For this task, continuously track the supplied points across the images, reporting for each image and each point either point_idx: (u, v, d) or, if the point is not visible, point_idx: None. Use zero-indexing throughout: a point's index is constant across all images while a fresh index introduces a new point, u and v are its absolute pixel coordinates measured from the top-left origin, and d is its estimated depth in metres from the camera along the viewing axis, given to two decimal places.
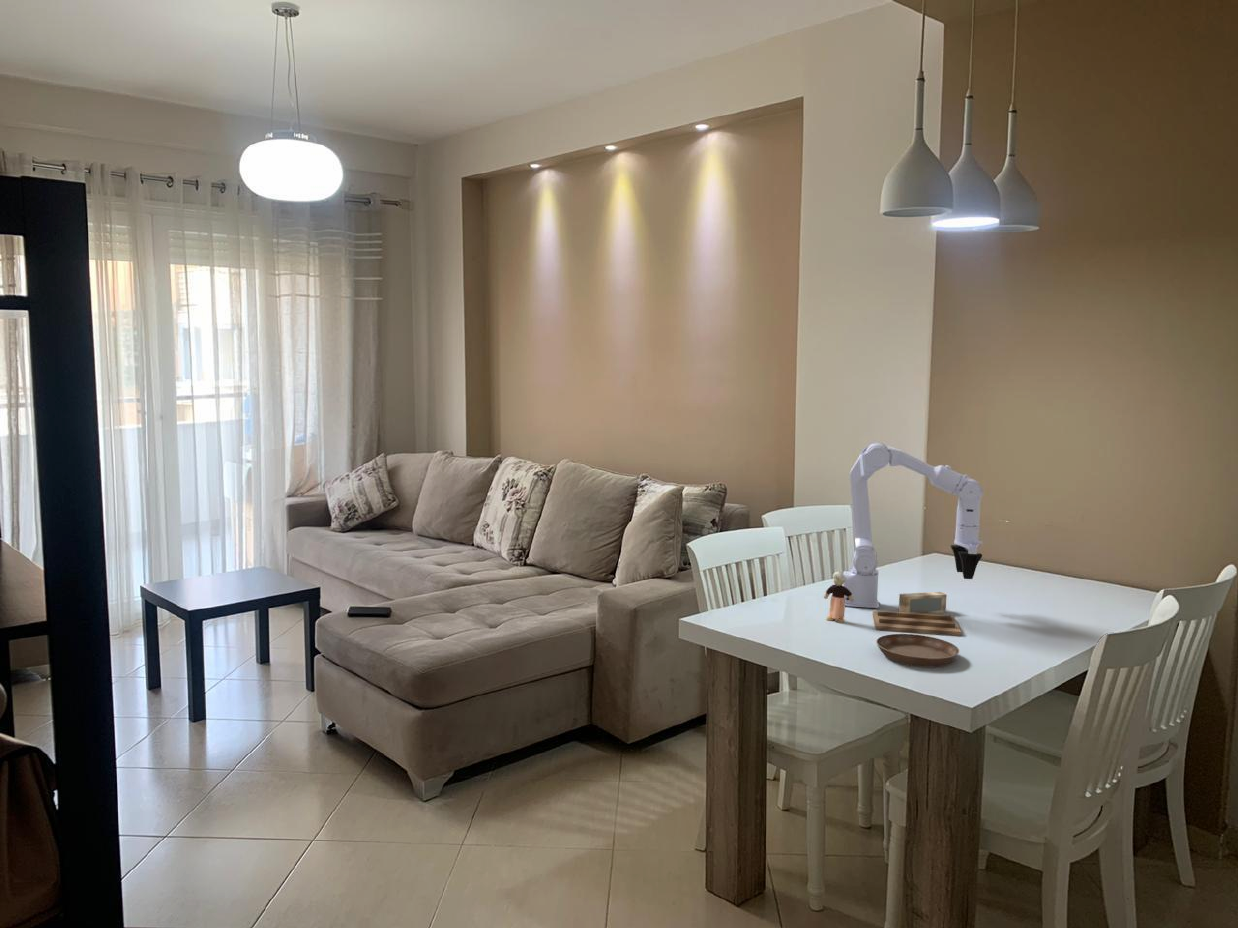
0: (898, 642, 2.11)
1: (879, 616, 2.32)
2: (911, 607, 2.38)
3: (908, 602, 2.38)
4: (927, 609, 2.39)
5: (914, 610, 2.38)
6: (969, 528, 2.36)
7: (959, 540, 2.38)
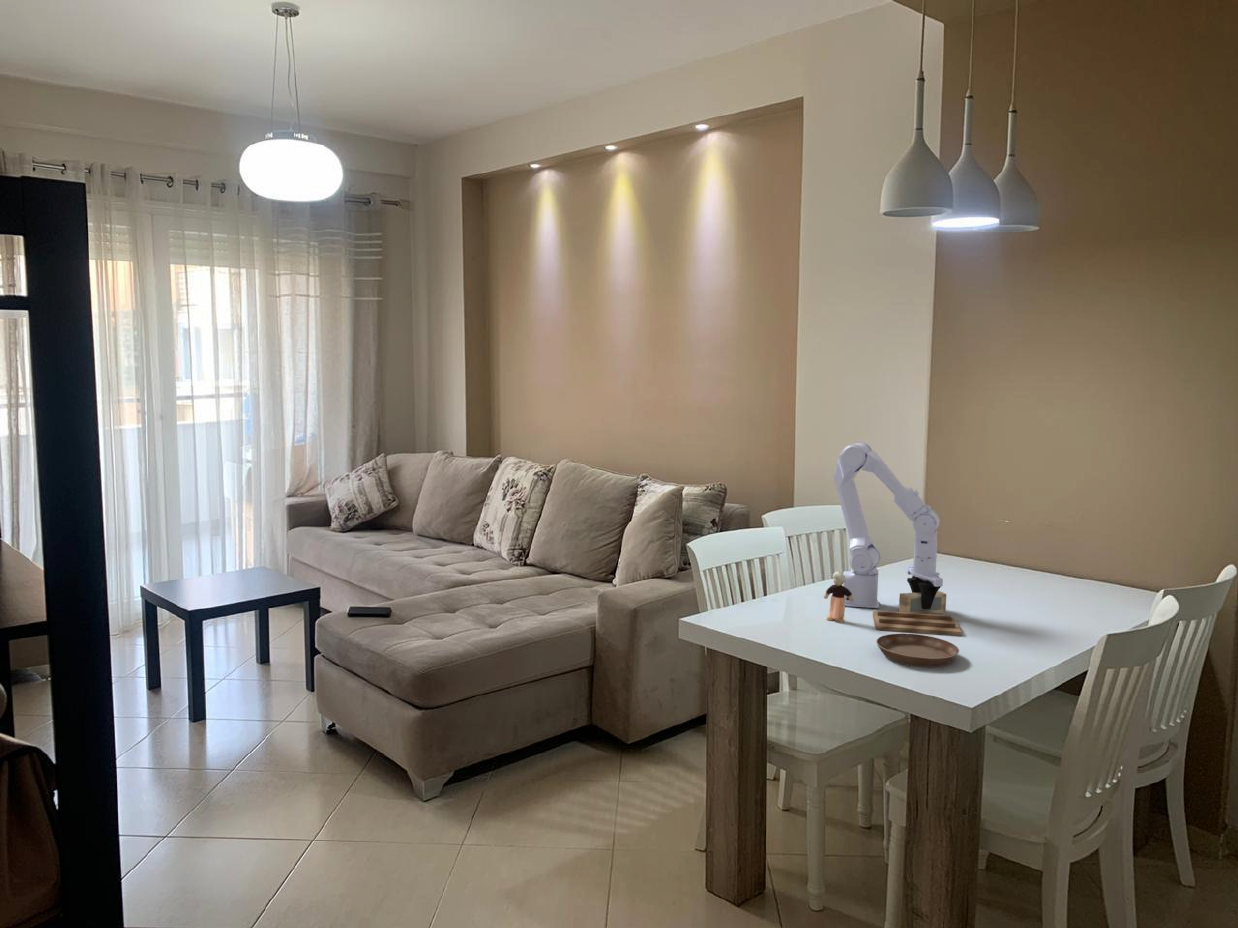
0: (899, 642, 2.11)
1: (879, 616, 2.32)
2: (911, 606, 2.38)
3: (908, 601, 2.38)
4: None
5: (915, 610, 2.38)
6: (930, 560, 2.36)
7: (920, 572, 2.37)
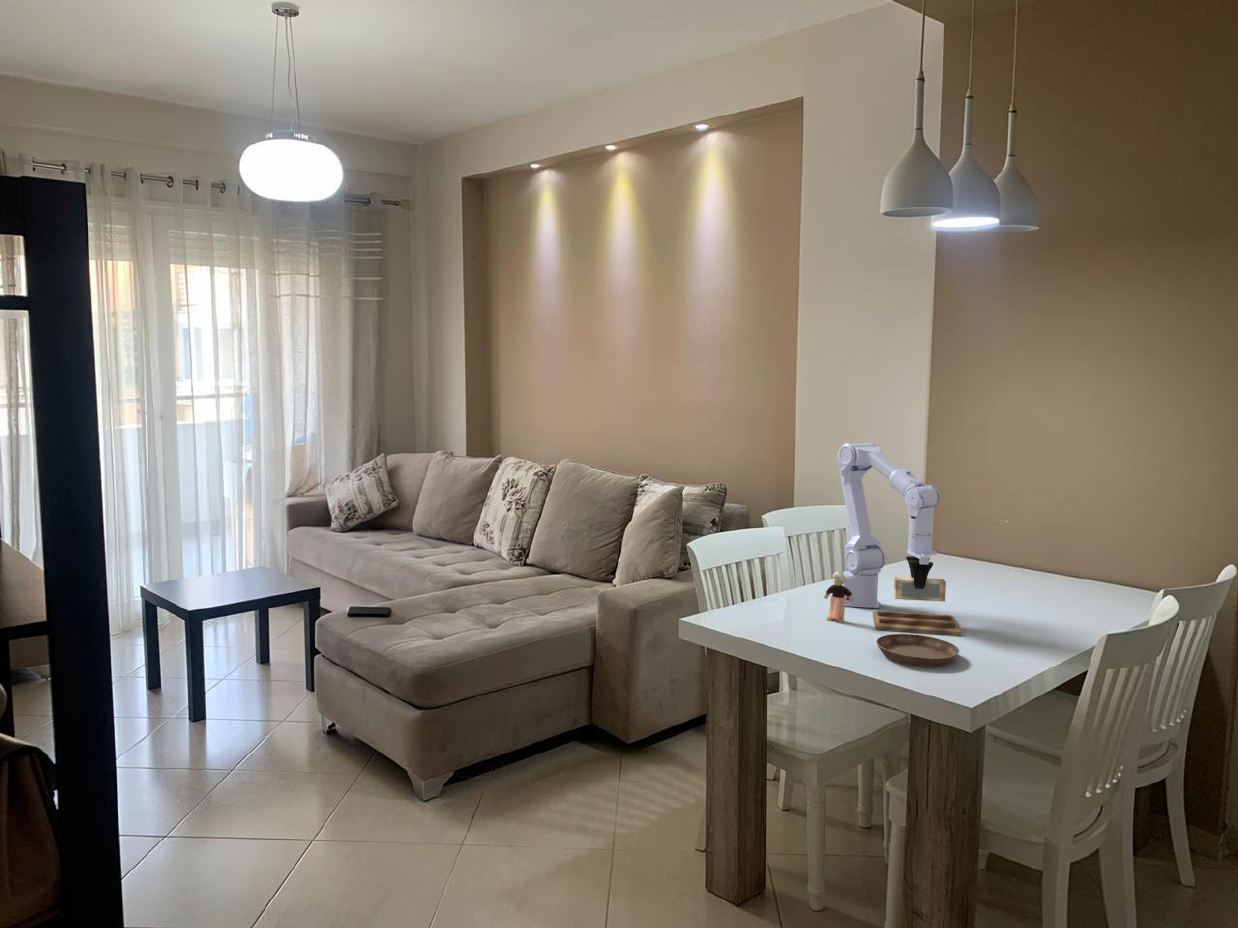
0: (899, 642, 2.11)
1: (879, 616, 2.32)
2: (903, 591, 2.29)
3: (899, 585, 2.29)
4: (922, 595, 2.28)
5: (907, 595, 2.28)
6: (921, 537, 2.25)
7: (911, 550, 2.27)
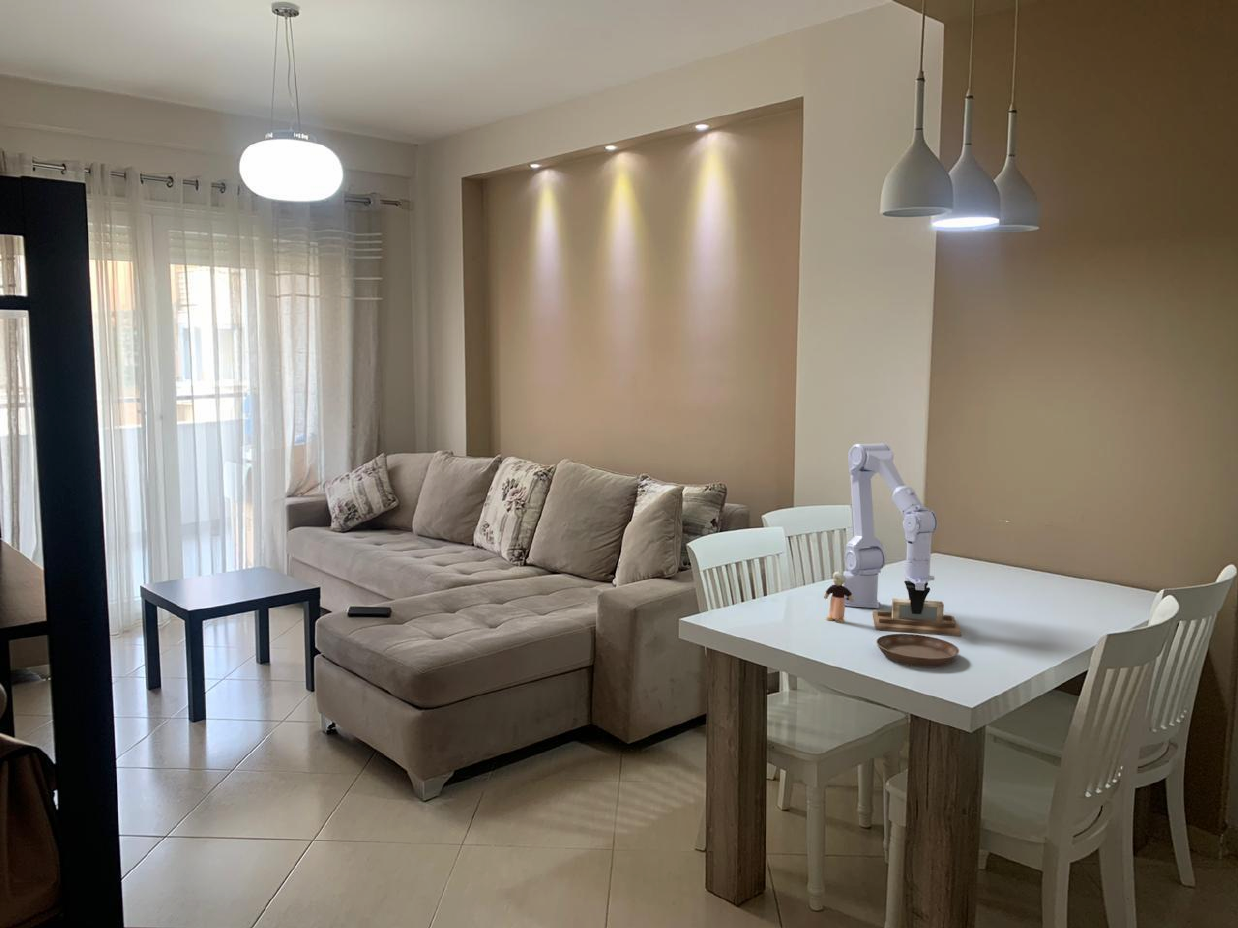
0: (899, 642, 2.11)
1: (879, 616, 2.32)
2: (900, 613, 2.28)
3: (897, 607, 2.28)
4: (919, 617, 2.27)
5: (904, 617, 2.28)
6: (918, 562, 2.24)
7: (908, 575, 2.26)
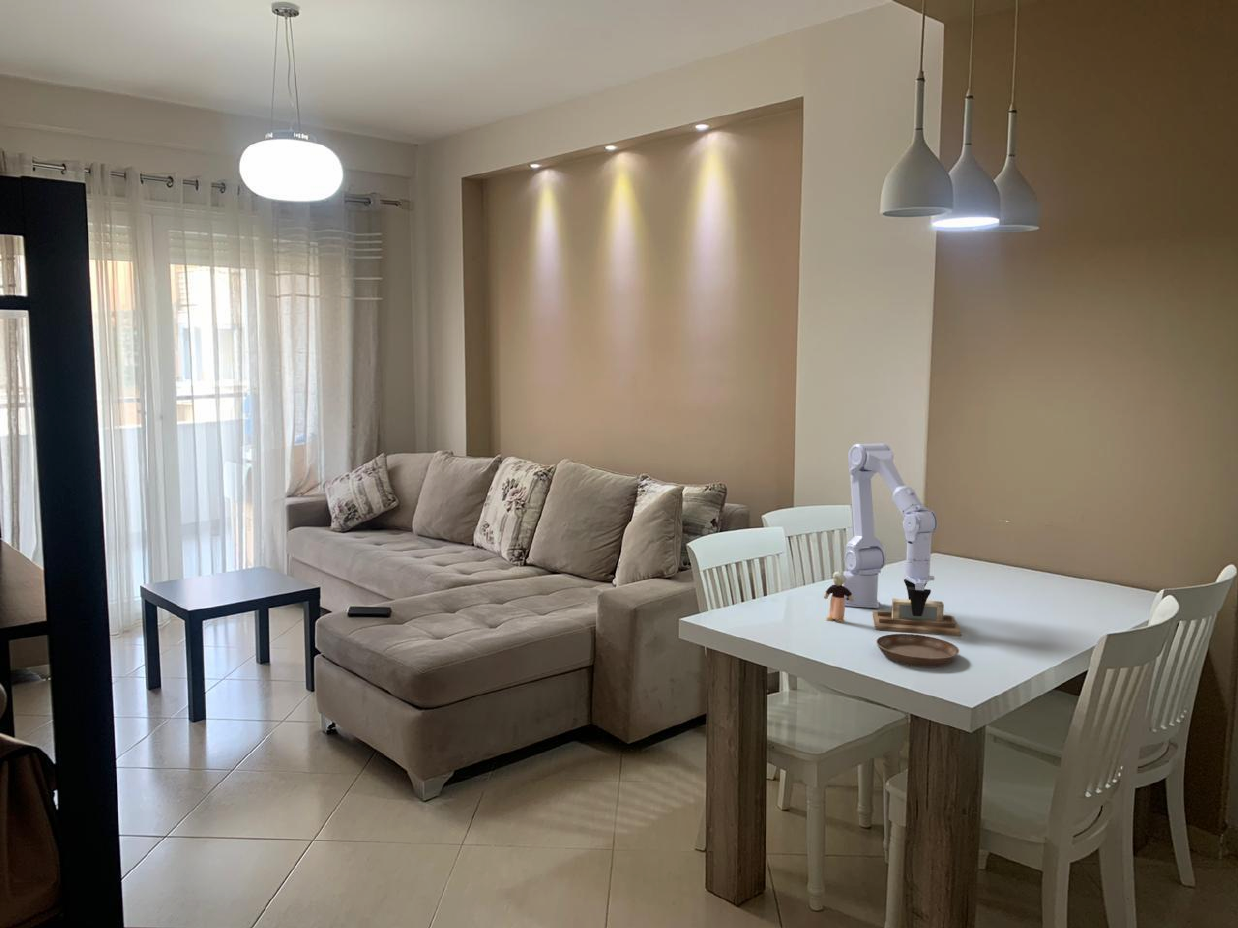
0: (899, 642, 2.11)
1: (879, 616, 2.32)
2: (900, 613, 2.28)
3: (897, 607, 2.28)
4: (919, 617, 2.27)
5: (904, 617, 2.28)
6: (918, 562, 2.24)
7: (908, 575, 2.26)
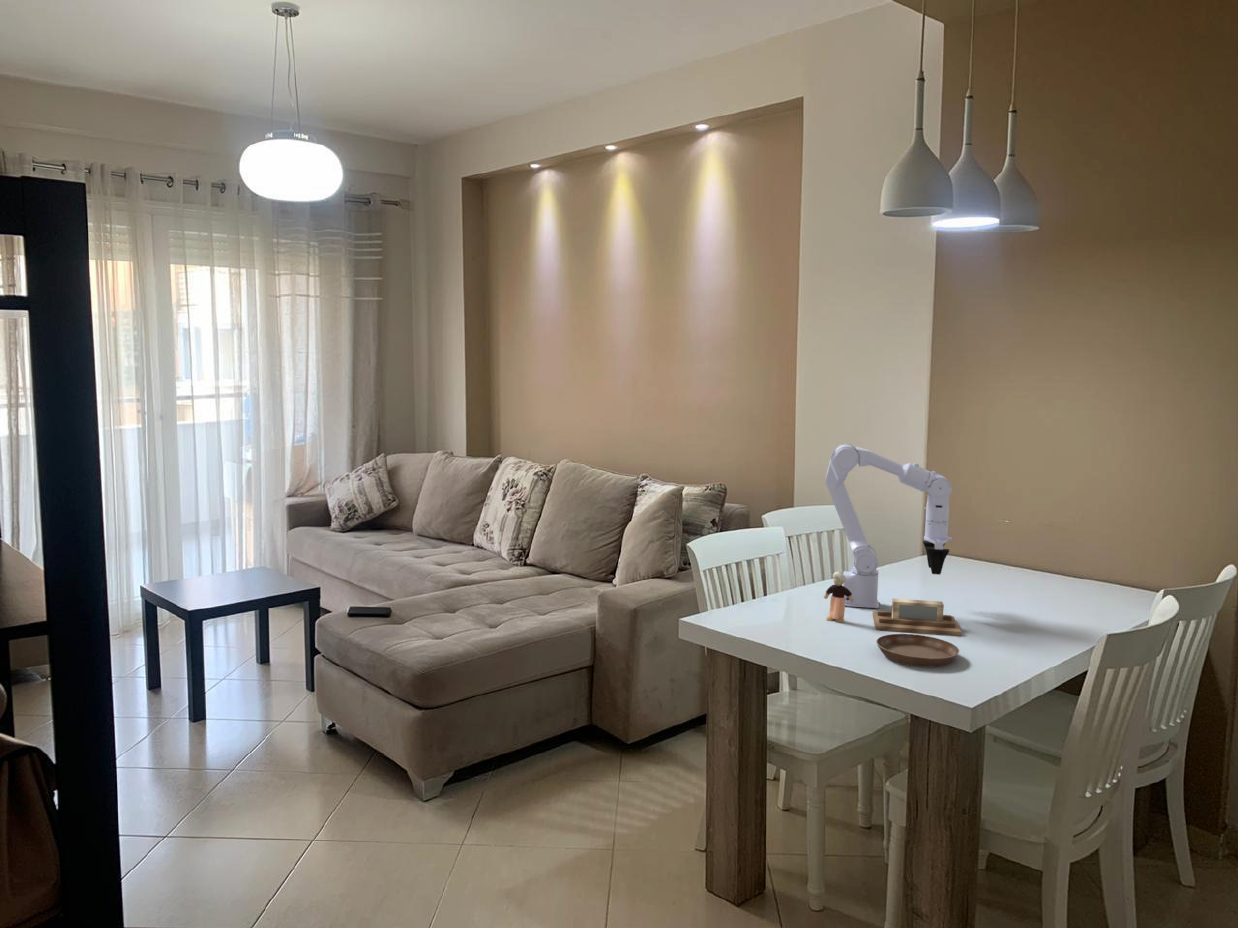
0: (899, 642, 2.11)
1: (879, 616, 2.32)
2: (900, 613, 2.28)
3: (897, 607, 2.28)
4: (919, 617, 2.27)
5: (904, 617, 2.28)
6: (937, 524, 2.39)
7: (928, 536, 2.40)
